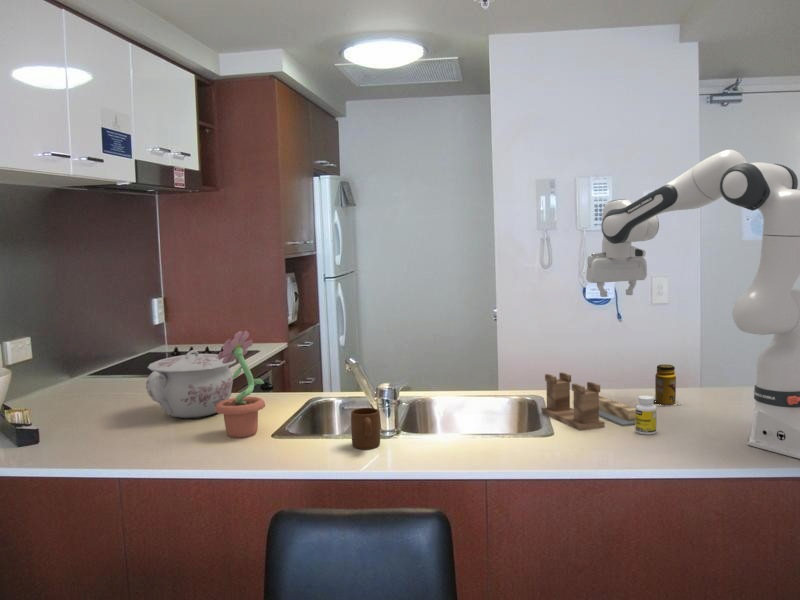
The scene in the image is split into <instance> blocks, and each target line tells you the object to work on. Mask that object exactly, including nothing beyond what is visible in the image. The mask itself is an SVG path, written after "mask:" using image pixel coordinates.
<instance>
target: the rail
mask: <svg viewBox="0 0 800 600" xmlns="http://www.w3.org/2000/svg"><path fill="white" fill-rule="evenodd" d="M599 409H600V410H602V411H605V412H607V413H610V414H612V415H615V416H617V417H620V418H622V419H625V420H628V421H634V420H636V407H635V408H634V407H631V406H629V405H627V404H623V403H621V402H618V401H615V400H612V399H609V398H607V397H604V396H601V395H599Z"/></svg>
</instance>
